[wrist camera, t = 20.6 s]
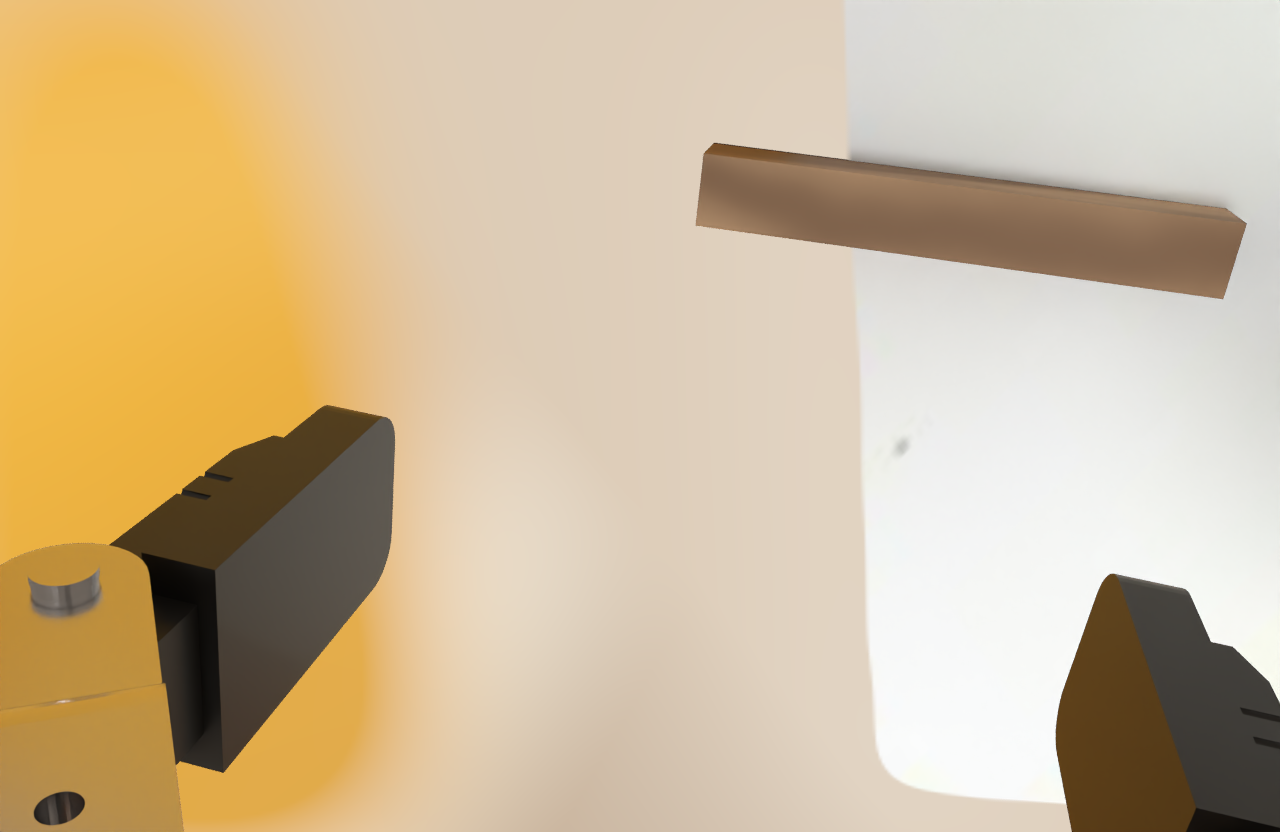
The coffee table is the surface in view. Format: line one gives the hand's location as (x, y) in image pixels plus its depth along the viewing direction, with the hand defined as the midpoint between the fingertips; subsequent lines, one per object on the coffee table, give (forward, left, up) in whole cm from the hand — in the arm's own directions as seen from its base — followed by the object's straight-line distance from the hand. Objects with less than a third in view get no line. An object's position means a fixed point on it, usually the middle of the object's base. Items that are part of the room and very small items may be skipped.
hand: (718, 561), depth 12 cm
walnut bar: (+3, +5, -38) cm, 38 cm away
